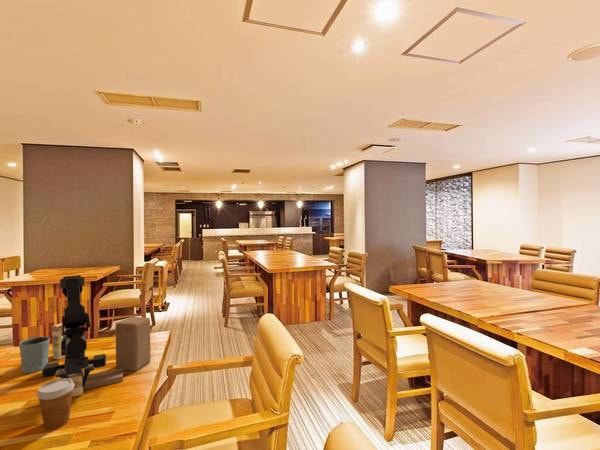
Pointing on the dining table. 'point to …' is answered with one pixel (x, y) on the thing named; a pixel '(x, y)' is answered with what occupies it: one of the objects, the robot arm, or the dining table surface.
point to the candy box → (57, 340)
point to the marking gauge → (77, 383)
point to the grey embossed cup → (34, 354)
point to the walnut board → (104, 378)
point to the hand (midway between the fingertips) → (76, 388)
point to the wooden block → (133, 343)
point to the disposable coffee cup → (55, 402)
